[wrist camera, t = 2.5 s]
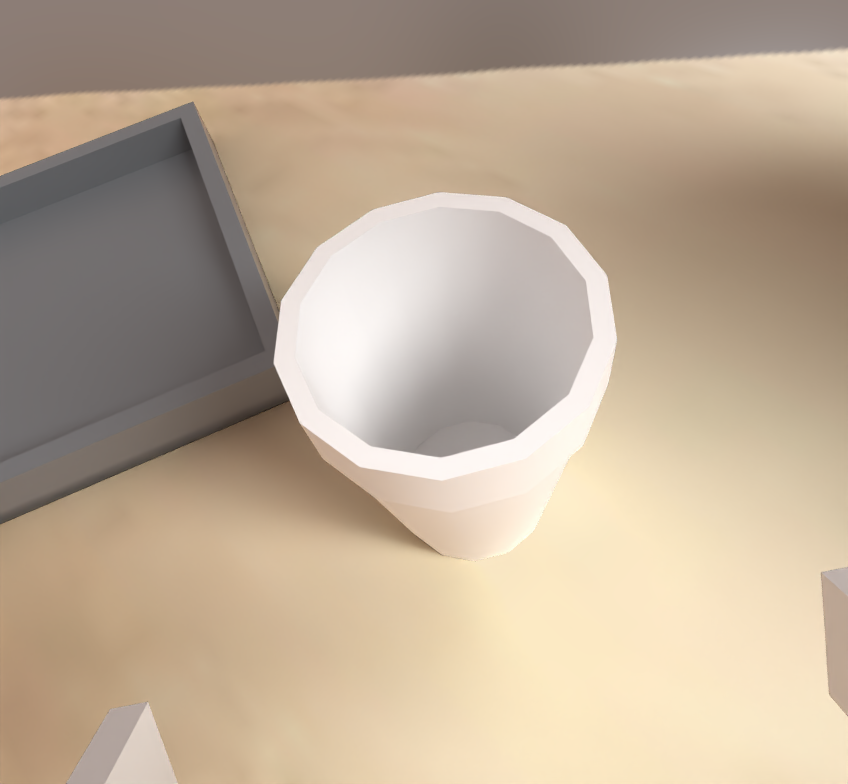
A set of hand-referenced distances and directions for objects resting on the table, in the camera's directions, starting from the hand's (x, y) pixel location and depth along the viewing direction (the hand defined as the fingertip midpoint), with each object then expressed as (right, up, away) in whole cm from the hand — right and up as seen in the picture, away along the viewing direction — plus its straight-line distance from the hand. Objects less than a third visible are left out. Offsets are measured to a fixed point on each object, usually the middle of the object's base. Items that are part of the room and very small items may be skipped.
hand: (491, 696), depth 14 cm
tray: (-20, +10, +25) cm, 33 cm away
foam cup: (+1, +2, +17) cm, 17 cm away
